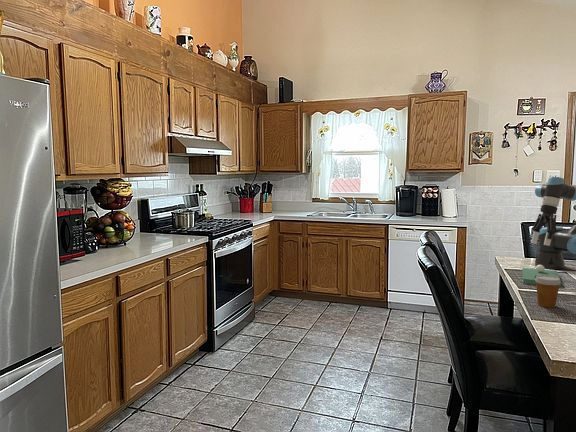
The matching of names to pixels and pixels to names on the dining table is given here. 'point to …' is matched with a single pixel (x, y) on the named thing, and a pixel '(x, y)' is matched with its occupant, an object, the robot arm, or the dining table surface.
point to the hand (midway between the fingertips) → (539, 244)
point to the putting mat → (531, 274)
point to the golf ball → (540, 268)
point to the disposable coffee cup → (547, 290)
